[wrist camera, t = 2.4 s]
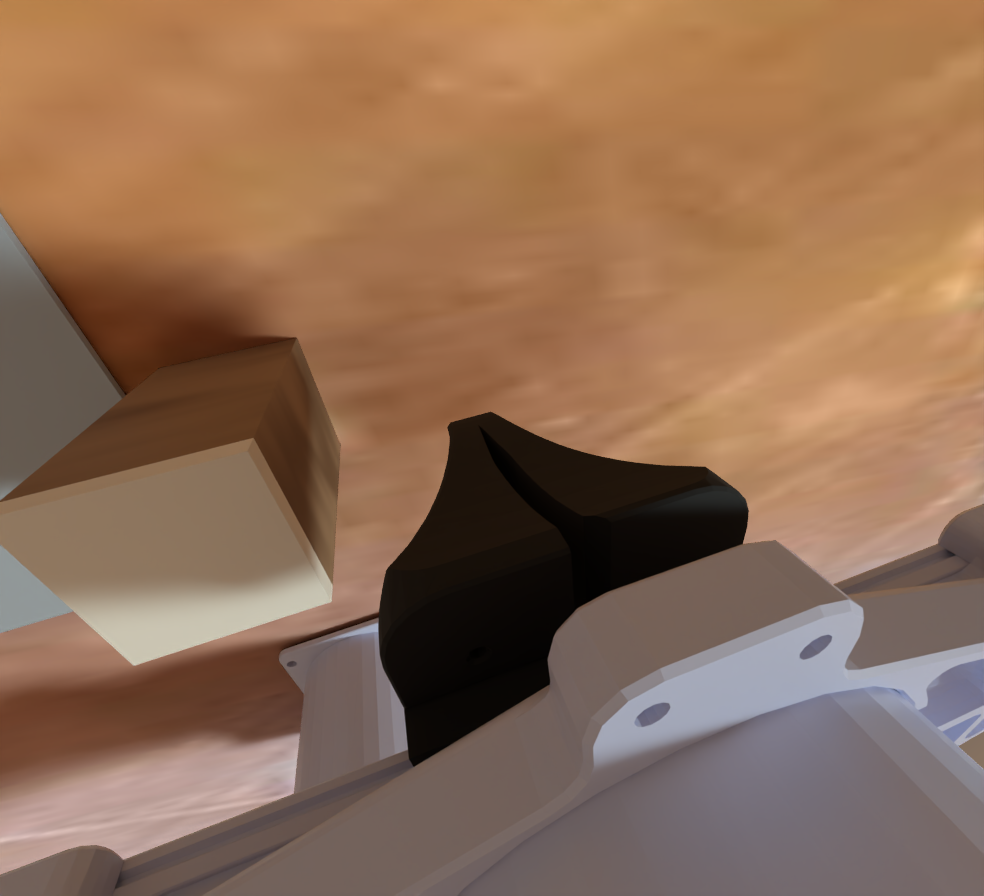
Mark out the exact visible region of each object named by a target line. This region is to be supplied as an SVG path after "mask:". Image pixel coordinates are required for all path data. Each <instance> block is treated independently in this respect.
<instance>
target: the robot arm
mask: <svg viewBox="0 0 984 896" xmlns="http://www.w3.org/2000/svg"><path fill="white" fill-rule="evenodd" d="M448 431H449V436H450V446H449V454H448V461H447V465H446V469H445V473H444V477H443V480H442V483H441V486H440V489H439V492H438V494H437V497H436V499H435V501H434V503H433V505H432V507H431V510H430V512H429V514H428V515H427V517H426V519H425V521H424V522H423V524H422V525H421V527H420V529H419V530H418V532H417V533H416V535H415V536H414V538H413V539H412V541H411V542H410V543H409V545H408V546H407V547H406V548H405V549H404V551H403V552H402V553H401V554H400V555H399V556H398V557H397V559H396V560H395V561H394V562H393V563H392V564H391V565H390V566H389V567H388V569H387V570H386V574H385V578H384V583H383V588H382V594H381V601H380V609H379V618H376V619H373V620H370V621H367V622H364V623H361V624H358V625H355V626H352V627H349V628H346V629H343V630H340V631H337V632H334V633H331V634H328V635H325V636H322V637H319V638H316V639H313V640H310V641H307V642H304V643H301V644H298V645H295V646H292V647H289V648H286V649H284V650H282V651H281V652H280V654H279V662H280V663H281V665H282V666H283V667H284V669H285V670H286V671H287V672H288V674H289V675H290V676H291V678H292V679H293V680H294V682H295V683H296V684H297V686H298V687H299V688H300V690H301V691H302V692H303V694H304V700H303V710H302V719H301V729H300V739H299V748H298V758H297V768H296V778H295V787H294V794H292V795H289V796H287V797H284V798H282V799H279V800H277V801H274V802H271V803H269V804H266V805H264V806H261V807H258V808H256V809H253V810H251V811H248V812H246V813H243V814H240V815H238V816H235V817H233V818H230V819H228V820H225V821H222V822H220V823H217V824H215V825H212V826H210V827H207V828H204V829H202V830H199V831H197V832H194V833H192V834H189V835H186V836H184V837H181V838H179V839H176V840H173V841H171V842H168V843H166V844H163V845H161V846H158V847H155V848H153V849H150V850H148V851H145V852H143V853H140V854H137V855H135V856H132V857H130V858H127V859H125V860H123V859H122V858H121V857H120V856H119V855H118V854H116V853H115V852H114V851H112V850H110V849H108V848H106V847H102V846H97V845H91V846H80V847H76V848H72V849H68V850H65V851H62V852H60V853H57V854H54V855H52V856H49V857H46V858H44V859H41V860H39V861H36V862H33V863H31V864H28V865H25V866H23V867H20V868H17V869H15V870H12V871H9V872H7V873H4V874H1V875H0V896H984V769H983V768H982V767H981V766H980V765H978V764H977V763H976V762H975V761H974V760H973V759H972V758H971V757H969V756H968V755H967V754H966V753H965V752H964V751H963V750H962V749H961V748H959V747H958V746H959V745H961V744H963V743H964V742H966V741H968V740H969V739H971V738H973V737H975V736H976V735H978V734H980V733H982V732H983V731H984V504H982V505H979V506H977V507H974V508H971V509H969V510H966V511H964V512H962V513H960V514H958V515H957V516H955V517H954V518H953V519H952V520H951V521H950V522H949V523H948V524H947V525H946V527H945V528H944V530H943V531H942V533H941V535H940V537H939V539H938V544H936V545H933V546H931V547H928V548H926V549H923V550H920V551H918V552H915V553H913V554H910V555H908V556H905V557H902V558H900V559H897V560H895V561H892V562H890V563H887V564H884V565H882V566H879V567H877V568H874V569H872V570H869V571H866V572H864V573H861V574H859V575H856V576H853V577H851V578H848V579H846V580H843V581H841V582H838V583H835V584H832V583H831V582H830V581H828V580H827V579H826V578H825V577H823V576H822V575H821V574H820V573H818V572H817V571H816V570H815V569H813V568H812V567H811V566H810V565H808V564H807V563H806V562H805V561H803V560H802V559H801V558H800V557H798V556H797V555H796V554H795V553H793V552H792V551H791V550H789V549H788V548H786V547H785V546H783V545H782V544H780V543H779V542H777V541H776V540H773V541H762V542H755V543H748V544H743V540H744V537H745V533H746V529H747V522H748V512H749V510H748V507H747V503H746V499H745V498H744V497H743V496H742V495H741V494H740V493H739V491H737V490H736V489H735V488H733V487H732V486H731V485H729V484H728V483H727V482H725V481H724V480H723V479H721V478H720V477H719V476H717V475H716V474H715V473H713V472H712V471H711V470H709V469H708V468H706V467H694V466H664V465H653V464H643V463H634V462H627V461H621V460H615V459H610V458H605V457H600V456H596V455H592V454H588V453H584V452H581V451H577V450H574V449H571V448H567V447H565V446H562V445H559V444H556V443H554V442H551V441H549V440H546V439H544V438H542V437H539V436H537V435H535V434H533V433H531V432H529V431H527V430H525V429H523V428H521V427H519V426H517V425H515V424H513V423H511V422H509V421H507V420H506V419H504V418H502V417H500V416H498V415H496V414H495V413H493V412H488V413H485V414H481V415H477V416H473V417H470V418H466V419H462V420H458V421H455V422H451V423H450V424H449V426H448Z"/></svg>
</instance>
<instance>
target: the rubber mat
mask: <svg viewBox="0 0 984 896" xmlns="http://www.w3.org/2000/svg"><path fill="white" fill-rule="evenodd" d="M125 396H126V395H125V394H124V392H123V391H122V389H121V388H120V387H119V385H118V384H117V382H116V381H115V379H114V378H113V376H112V375H111V373H110V372H109V371H108V369H107V368H106V366H105V365H104V363H103V362H102V360H101V359H100V357H99V356H98V355H97V353H96V352H95V350H94V349H93V347H92V346H91V344H90V343H89V341H88V340H87V339H86V337H85V336H84V334H83V333H82V331H81V330H80V328H79V327H78V325H77V324H76V323H75V321H74V320H73V318H72V317H71V315H70V314H69V312H68V311H67V309H66V308H65V306H64V305H63V304H62V302H61V301H60V299H59V298H58V296H57V295H56V293H55V292H54V290H53V289H52V288H51V286H50V285H49V283H48V282H47V280H46V279H45V277H44V276H43V274H42V273H41V272H40V270H39V269H38V267H37V266H36V264H35V263H34V261H33V260H32V258H31V257H30V256H29V254H28V253H27V251H26V250H25V248H24V247H23V245H22V244H21V242H20V241H19V240H18V238H17V237H16V235H15V234H14V232H13V231H12V229H11V228H10V226H9V225H8V224H7V222H6V221H5V219H4V218H3V216H2V215H1V213H0V500H1V499H3V498H4V497H5V496H6V495H7V494H9V493H10V492H11V491H12V490H13V489H15V488H16V487H17V486H18V485H19V484H21V483H22V482H23V481H24V480H25V479H27V478H28V477H29V476H30V475H31V474H33V473H34V472H35V471H36V470H37V469H39V468H40V467H41V466H42V465H43V464H45V463H46V462H47V461H48V460H49V459H51V458H52V457H53V456H54V455H55V454H57V453H58V452H59V451H60V450H61V449H63V448H64V447H65V446H66V445H67V444H69V443H70V442H71V441H72V440H73V439H75V438H76V437H77V436H78V435H79V434H81V433H82V432H83V431H84V430H85V429H87V428H88V427H89V426H90V425H91V424H93V423H94V422H95V421H96V420H97V419H98V418H100V417H101V416H102V415H103V414H104V413H106V412H107V411H108V410H109V409H110V408H112V407H113V406H114V405H115V404H116V403H118V402H119V401H120V400H121V399H122V398H124V397H125ZM72 611H73V610H72V609H71V608H70V607H69V606H67V605H66V604H65V603H64V602H63V601H62V600H61V599H60V598H59V597H58V596H56V595H55V594H54V593H53V592H52V591H51V590H50V589H49V588H48V587H46V586H45V585H44V584H43V583H42V582H41V581H40V580H39V579H38V578H37V577H35V576H34V575H33V574H32V573H31V572H30V571H29V570H28V569H27V568H26V567H24V566H23V565H22V564H21V563H20V562H19V561H18V560H17V559H16V558H15V557H13V556H12V555H11V554H10V553H9V552H8V551H7V550H6V549H5V548H3V547H2V546H1V545H0V633H2V632H5V631H9V630H12V629H15V628H19V627H22V626H25V625H29V624H32V623H35V622H39V621H42V620H46V619H49V618H52V617H56V616H59V615H62V614H66V613H69V612H72Z"/></svg>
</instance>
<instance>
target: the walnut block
mask: <svg viewBox="0 0 984 896" xmlns="http://www.w3.org/2000/svg"><path fill="white" fill-rule="evenodd" d="M340 446H341V445H340V442H339V440H338V437H337V435H336V432H335V430H334V428H333V425H332V423H331V420H330V418H329V415H328V413H327V410H326V408H325V406H324V403H323V401H322V398H321V396H320V393H319V391H318V388H317V386H316V383H315V381H314V379H313V376H312V374H311V371H310V369H309V366H308V364H307V361H306V359H305V356H304V354H303V352H302V349H301V347H300V344H299V342H298V339H297V338H293V339H289V340H284V341H280V342H275V343H271V344H266V345H262V346H257V347H253V348H248V349H244V350H239V351H234V352H230V353H225V354H221V355H216V356H212V357H207V358H203V359H198V360H194V361H189V362H185V363H180V364H176V365H171V366H167V367H162V368H158V369H157V370H156V371H155V372H154V373H152V374H151V375H150V376H149V377H148V378H146V379H145V380H144V381H143V382H142V383H140V384H139V385H138V386H137V387H136V388H134V389H133V390H132V391H131V392H130V393H128V394H127V395H126V396H125V397H124V398H122V399H121V400H120V401H119V402H118V403H116V404H115V405H114V406H113V407H112V408H110V409H109V410H108V411H107V412H106V413H104V414H103V415H102V416H101V417H100V418H98V419H97V420H96V421H95V422H94V423H93V424H91V425H90V426H89V427H88V428H87V429H85V430H84V431H83V432H82V433H81V434H79V435H78V436H77V437H76V438H75V439H73V440H72V441H71V442H70V443H69V444H67V445H66V446H65V447H64V448H63V449H61V450H60V451H59V452H58V453H57V454H55V455H54V456H53V457H52V458H51V459H49V460H48V461H47V462H46V463H45V464H43V465H42V466H41V467H40V468H39V469H37V470H36V471H35V472H34V473H33V474H31V475H30V476H29V477H28V478H27V479H25V480H24V481H23V482H22V483H21V484H19V485H18V486H17V487H16V488H15V489H13V490H12V491H11V492H10V493H9V494H7V495H6V496H5V497H4V498H3V499H1V500H0V545H1V546H2V547H3V548H5V549H6V550H7V551H8V552H9V553H10V554H11V555H12V556H13V557H15V558H16V559H17V560H18V561H19V562H20V563H21V564H22V565H23V566H24V567H26V568H27V569H28V570H29V571H30V572H31V573H32V574H33V575H34V576H35V577H37V578H38V579H39V580H40V581H41V582H42V583H43V584H44V585H45V586H46V587H48V588H49V589H50V590H51V591H52V592H53V593H54V594H55V595H56V596H58V597H59V598H60V599H61V600H62V601H63V602H64V603H65V604H66V605H67V606H69V607H70V608H71V609H72V610H73V611H74V612H75V613H76V614H77V615H78V616H80V617H81V618H82V619H83V620H84V621H85V622H86V623H87V624H88V625H89V626H91V627H92V628H93V629H94V630H95V631H96V632H97V633H98V634H99V635H100V636H102V637H103V638H104V639H105V640H106V641H107V642H108V643H109V644H110V645H112V646H113V647H114V648H115V649H116V650H117V651H118V652H119V653H120V654H121V655H123V656H124V657H125V658H126V659H127V660H128V661H129V662H130V663H131V664H132V665H134V666H135V665H138V664H141V663H144V662H147V661H150V660H153V659H156V658H159V657H162V656H166V655H169V654H172V653H175V652H178V651H181V650H184V649H187V648H190V647H193V646H196V645H200V644H203V643H206V642H209V641H212V640H215V639H218V638H221V637H224V636H227V635H230V634H234V633H237V632H240V631H243V630H246V629H249V628H252V627H255V626H258V625H261V624H264V623H268V622H271V621H274V620H277V619H280V618H283V617H286V616H289V615H292V614H295V613H298V612H302V611H305V610H308V609H311V608H314V607H317V606H320V605H323V604H326V603H329V602H332V587H333V569H334V551H335V534H336V516H337V499H338V481H339V463H340Z"/></svg>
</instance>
